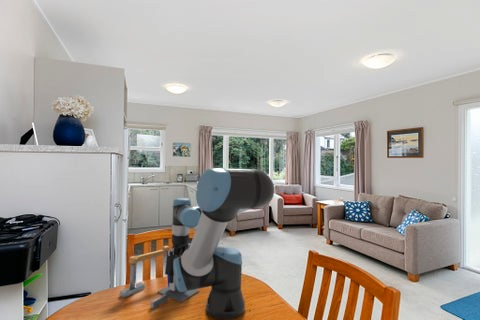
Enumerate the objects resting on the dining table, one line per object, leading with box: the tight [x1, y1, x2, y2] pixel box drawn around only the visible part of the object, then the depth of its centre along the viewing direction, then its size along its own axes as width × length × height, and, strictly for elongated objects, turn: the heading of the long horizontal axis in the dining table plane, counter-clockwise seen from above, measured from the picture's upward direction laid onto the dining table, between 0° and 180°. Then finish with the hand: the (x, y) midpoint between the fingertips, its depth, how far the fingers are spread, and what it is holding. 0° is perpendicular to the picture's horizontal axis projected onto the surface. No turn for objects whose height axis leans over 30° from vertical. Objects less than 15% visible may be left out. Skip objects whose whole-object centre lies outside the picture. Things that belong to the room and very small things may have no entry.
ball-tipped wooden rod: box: [128, 245, 170, 265], centre depth 118 cm, size 19×4×3 cm, turn 139°
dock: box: [119, 263, 168, 310], centre depth 108 cm, size 19×10×12 cm, turn 58°
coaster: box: [157, 285, 200, 304], centre depth 114 cm, size 14×11×1 cm
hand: (178, 286), depth 114 cm, fingers closed on mug, 7 cm apart
